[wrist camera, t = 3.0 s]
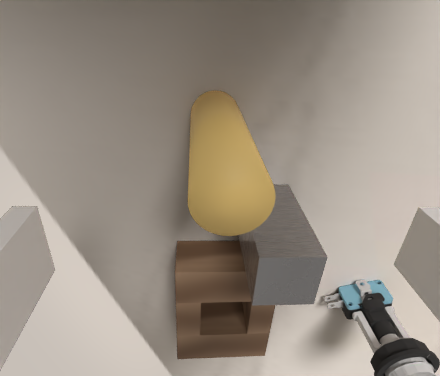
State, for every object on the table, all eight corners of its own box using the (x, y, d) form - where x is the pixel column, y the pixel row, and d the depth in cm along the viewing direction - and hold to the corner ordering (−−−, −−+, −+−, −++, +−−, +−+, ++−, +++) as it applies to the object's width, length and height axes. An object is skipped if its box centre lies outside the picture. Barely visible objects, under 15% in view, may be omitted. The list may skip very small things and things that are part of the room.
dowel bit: (190, 89, 22) (187, 160, 11) (241, 91, 22) (281, 161, 12) (190, 137, 24) (187, 236, 13) (237, 138, 24) (269, 235, 14)
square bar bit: (240, 184, 26) (259, 257, 18) (288, 184, 26) (327, 257, 19) (236, 224, 28) (252, 305, 20) (281, 224, 29) (313, 304, 21)
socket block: (177, 241, 29) (174, 272, 25) (272, 240, 29) (282, 271, 26) (179, 324, 35) (177, 359, 31) (257, 321, 35) (264, 355, 32)
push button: (322, 310, 35) (363, 407, 27) (322, 277, 32) (369, 374, 24) (380, 300, 35) (440, 395, 26) (385, 267, 32) (454, 360, 24)
